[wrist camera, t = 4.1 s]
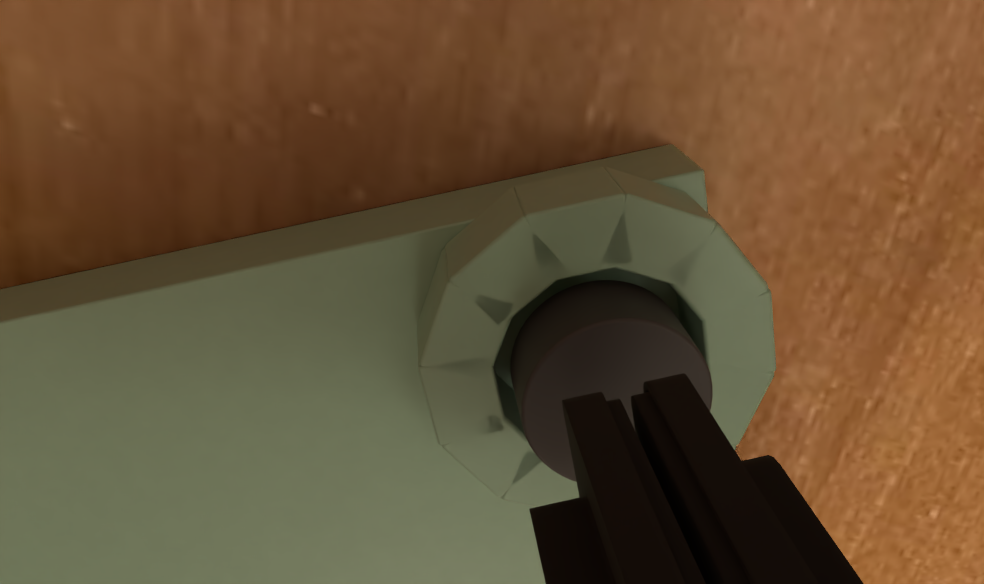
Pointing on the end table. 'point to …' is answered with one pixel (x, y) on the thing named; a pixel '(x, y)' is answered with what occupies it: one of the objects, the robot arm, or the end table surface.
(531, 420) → the button
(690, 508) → the robot arm
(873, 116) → the end table surface
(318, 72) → the end table surface
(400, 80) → the end table surface
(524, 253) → the scale
